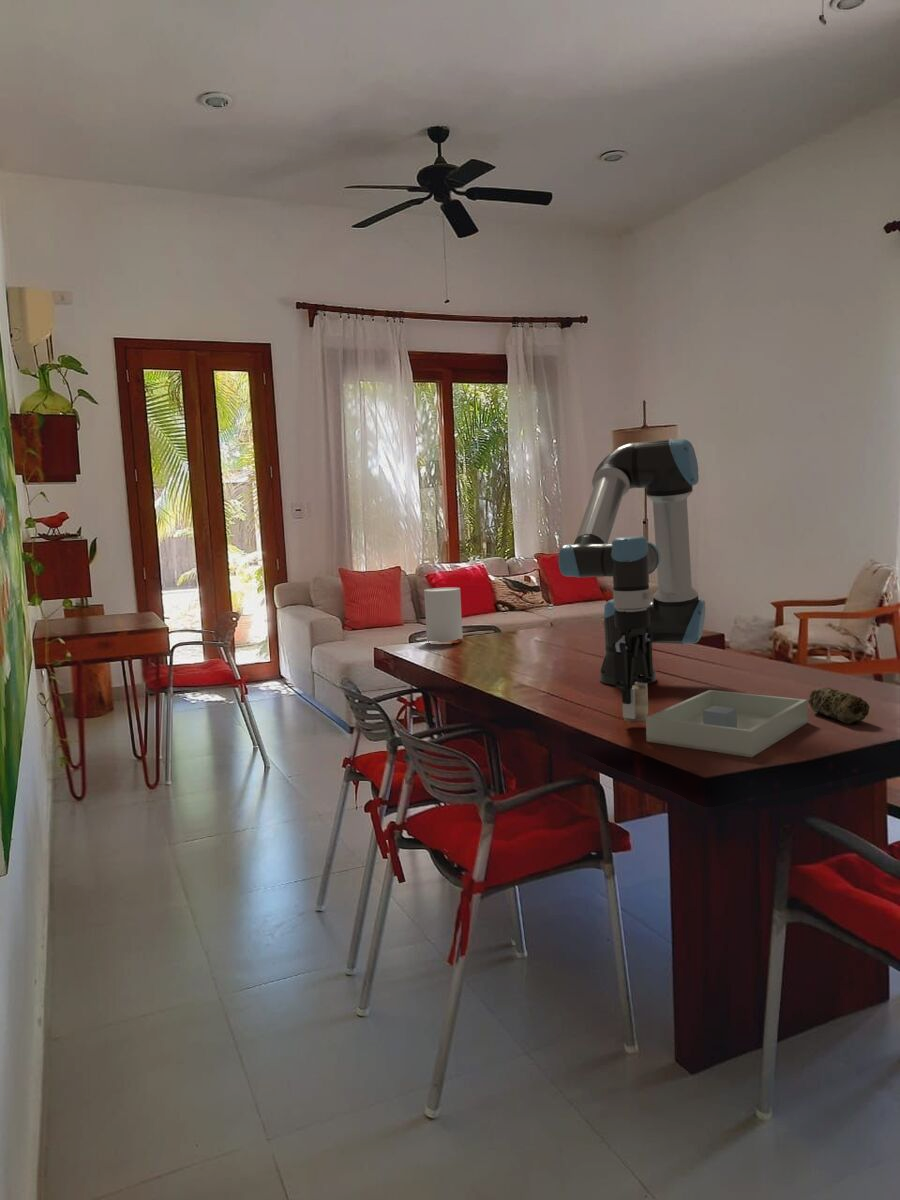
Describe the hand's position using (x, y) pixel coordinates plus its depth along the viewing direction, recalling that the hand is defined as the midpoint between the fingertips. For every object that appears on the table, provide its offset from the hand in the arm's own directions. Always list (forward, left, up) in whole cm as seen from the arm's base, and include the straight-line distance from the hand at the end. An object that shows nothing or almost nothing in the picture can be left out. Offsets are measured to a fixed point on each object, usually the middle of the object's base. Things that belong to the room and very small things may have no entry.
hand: (635, 714), depth 188 cm
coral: (+33, +28, -3) cm, 44 cm away
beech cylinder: (0, 0, -1) cm, 1 cm away
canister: (-123, +75, -3) cm, 144 cm away
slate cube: (+18, +2, -2) cm, 18 cm away
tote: (+18, +6, -3) cm, 19 cm away
